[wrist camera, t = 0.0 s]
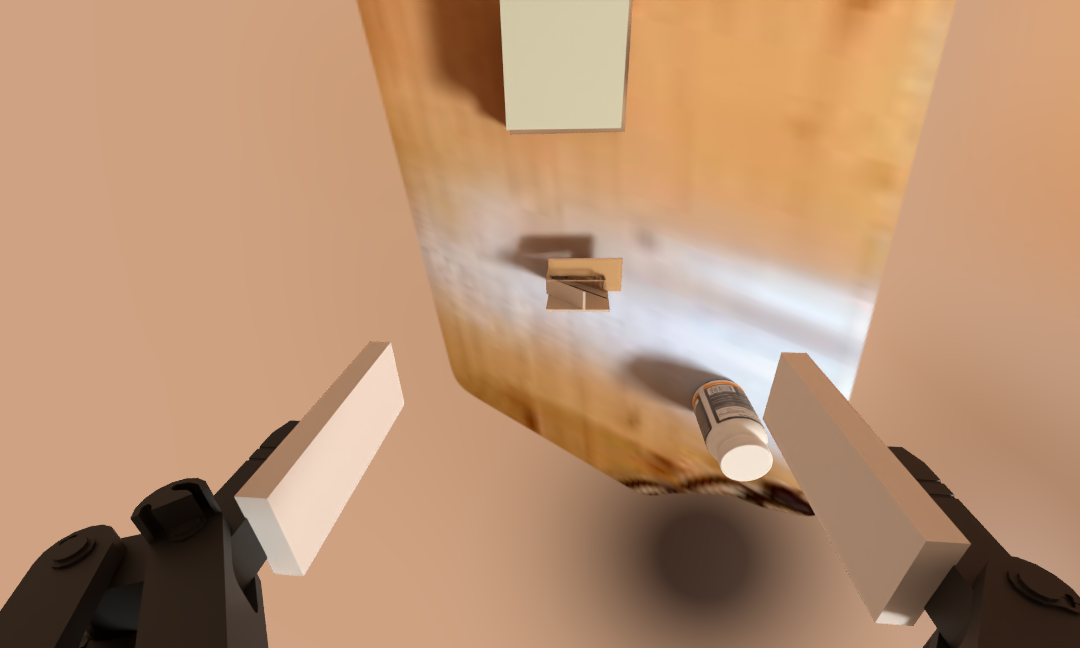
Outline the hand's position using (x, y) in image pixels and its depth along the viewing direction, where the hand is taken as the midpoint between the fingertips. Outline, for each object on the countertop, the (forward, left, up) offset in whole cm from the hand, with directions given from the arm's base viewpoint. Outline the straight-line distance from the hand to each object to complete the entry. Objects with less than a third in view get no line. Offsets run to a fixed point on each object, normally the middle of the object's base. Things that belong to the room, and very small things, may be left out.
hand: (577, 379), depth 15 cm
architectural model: (+7, 0, -29) cm, 29 cm away
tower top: (-11, -1, -24) cm, 27 cm away
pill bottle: (+22, +16, -28) cm, 39 cm away
